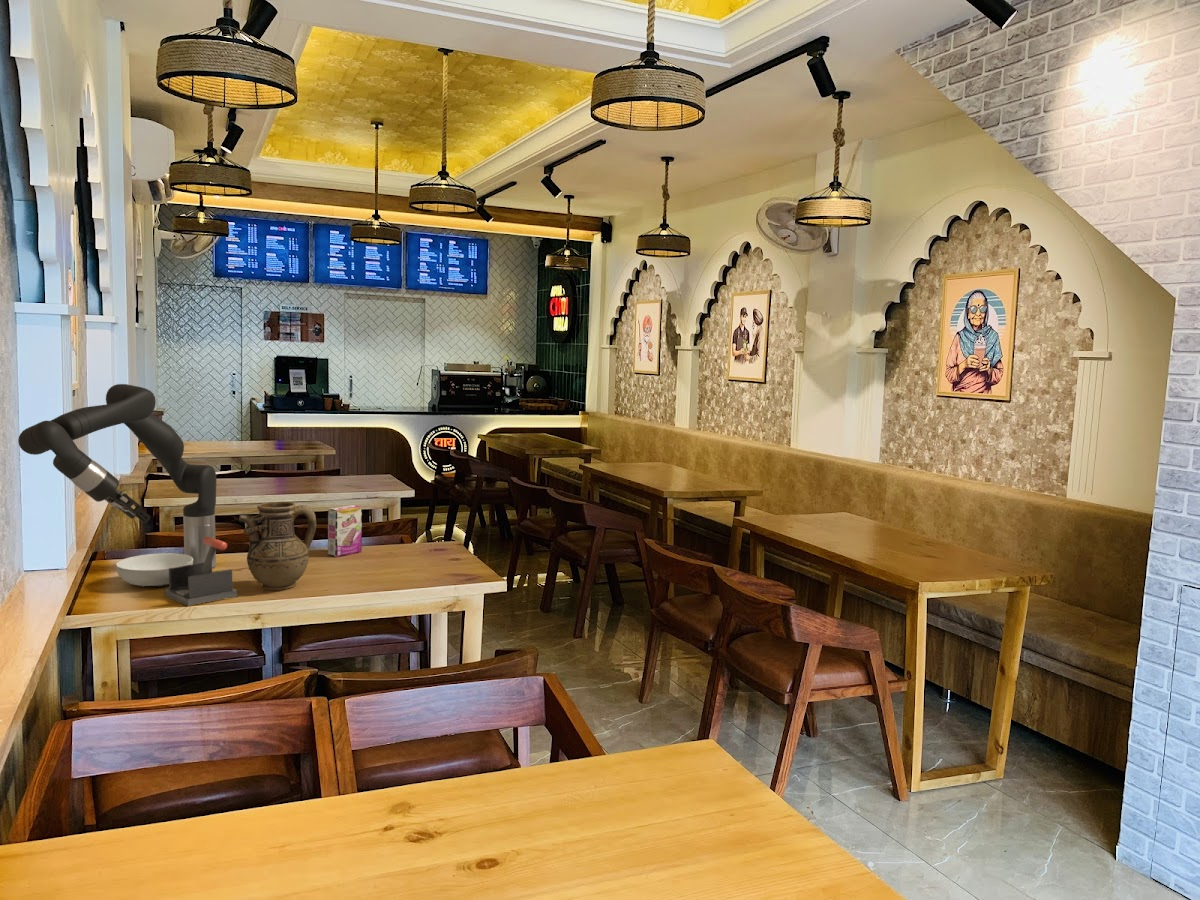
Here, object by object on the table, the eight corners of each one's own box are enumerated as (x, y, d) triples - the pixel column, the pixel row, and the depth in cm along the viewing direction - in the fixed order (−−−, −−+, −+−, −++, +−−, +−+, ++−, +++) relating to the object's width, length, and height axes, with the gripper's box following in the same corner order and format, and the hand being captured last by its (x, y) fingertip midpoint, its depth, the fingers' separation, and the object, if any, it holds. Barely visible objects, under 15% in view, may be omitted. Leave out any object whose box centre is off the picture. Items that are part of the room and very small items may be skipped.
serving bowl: (113, 595, 257) (112, 571, 257) (119, 577, 277) (118, 555, 276) (193, 588, 266) (192, 566, 265) (194, 572, 285) (193, 550, 284)
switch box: (188, 606, 248) (187, 578, 247) (164, 595, 258) (163, 568, 257) (237, 596, 258) (236, 569, 257) (213, 587, 268) (212, 560, 267)
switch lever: (204, 586, 253) (220, 540, 255) (188, 580, 260) (204, 535, 262) (211, 588, 255) (228, 543, 257) (196, 581, 261) (212, 537, 264)
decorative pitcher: (315, 577, 282) (313, 498, 279) (319, 591, 265) (318, 507, 263) (240, 582, 274) (238, 501, 271) (240, 597, 258) (238, 511, 255)
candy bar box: (336, 557, 308) (336, 510, 306) (327, 555, 311) (326, 508, 309) (362, 552, 317) (362, 506, 315) (353, 550, 320) (353, 504, 318)
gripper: (115, 471, 231) (162, 510, 241) (94, 466, 240) (140, 504, 250) (93, 494, 227) (142, 533, 237) (73, 487, 237) (120, 525, 247)
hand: (141, 518), depth 244 cm, fingers open, 8 cm apart
